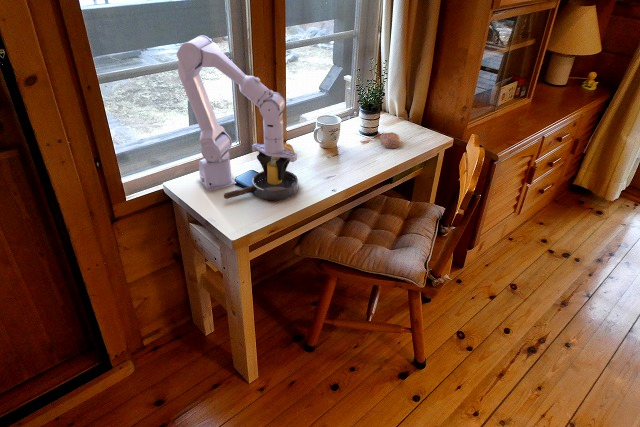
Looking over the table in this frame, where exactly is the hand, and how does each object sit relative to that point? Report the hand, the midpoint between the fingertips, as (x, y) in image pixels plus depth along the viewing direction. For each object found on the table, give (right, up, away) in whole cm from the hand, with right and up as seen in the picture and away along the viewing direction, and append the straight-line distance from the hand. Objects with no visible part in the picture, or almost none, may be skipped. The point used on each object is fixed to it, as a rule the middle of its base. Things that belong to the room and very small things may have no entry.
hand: (274, 176), depth 146 cm
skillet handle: (-10, -6, -4) cm, 12 cm away
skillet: (0, -4, +3) cm, 5 cm away
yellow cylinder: (0, -1, +1) cm, 2 cm away
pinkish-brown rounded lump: (+40, +15, +33) cm, 54 cm away
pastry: (+1, +9, +23) cm, 24 cm away
